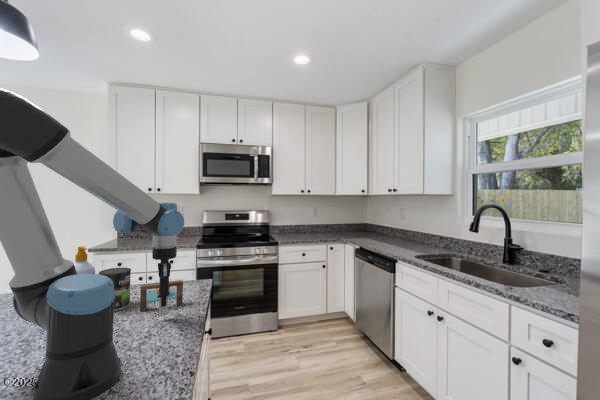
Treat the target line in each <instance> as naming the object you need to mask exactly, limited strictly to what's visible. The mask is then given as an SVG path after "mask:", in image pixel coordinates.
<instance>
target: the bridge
mask: <svg viewBox="0 0 600 400" xmlns="http://www.w3.org/2000/svg"><path fill="white" fill-rule="evenodd" d="M169 287H170V288H171V287H176V298H175V299H176V300H175V301H176V302H175V304H176V306H177V307H179V306H183V299H184V298H183V296H184V293H183V292H184V281H183V279H180V280H169ZM156 288H160V282H153V283H146V284H145V283H144V284H140V295H139V296H140V297H139V298H140V299H139V301H140V302H139V312H140V313H141V311H142V312H147V302H146V301H147V293H148V290H152V289H155V290H156Z"/></svg>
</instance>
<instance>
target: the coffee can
mask: <svg viewBox="0 0 600 400" xmlns="http://www.w3.org/2000/svg"><path fill="white" fill-rule="evenodd" d="M131 271H132V268H129V267H113V268H106V269H103V270H100V271H99V272H98V274H99V275H104V276H107V277H109V278H110V279H111V280H112V281H113V284H114V291H115V298H114V312H117V311H122V310H124V309H126V308H129V306H130V305H131Z"/></svg>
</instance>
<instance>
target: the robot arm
mask: <svg viewBox="0 0 600 400" xmlns="http://www.w3.org/2000/svg"><path fill="white" fill-rule="evenodd" d="M28 163H30V164H42V166H45V167H46V168H48V169H50V170H51V171H53V172H55V173H56V174H58V175H59V176H61V177H63V178H64V179H66V180H68V181H69V182H71V183H73V184H74V185H75V186H78V187H79V188H81V189H82V190H84V191H85V192H87V193H89V194H90V195H92V196H94V197H95V198H97V199H98V200H101V201H102V202H104V203H105V204H107V205H108V206H110V207H111V208H113V209H115V210H116V211H115V212H114V215H113V219H112V225H113V228H114V230H115V232H116V233H118V234H128V235H129V234H133V233H136V234H137V233H138V234H145V235H146V234H148V235H152V242H151V243H152V245H151V246H152V247H153V248H152V252H151V254H152V255H151V256H152V257H151V258H152V259H153V260H156V261H158V260H160V262H157V270H158V278H159V283H160V289H159V291H160V293H159V294H160V295H157V298H159V301H158V317H162V316H168V315H169V299H168V295H169V294H170V292H168V291H169V281H170V276H171V268H172V263H171V262H170V261H169V260H172V259H175V258H177V255H178V254H177V252H178V250H177V249H178V248H177V247H176V246H177V241H178V240H179V239H180V238H179V236H177V235H178V234H180V233H181V232H182V230H183V229H184V227H185V226H184V225H185V217H184V215H183V213H182V212H180V211H179V210H178V205H177V203H176V202H158V201H157V200H156V199H154V198H152V196H150V195H149V194H148V193H147V192H145V191H144V190H143V189H141V188H139V187H138V186H137V185H135V184H134V183H133V182H131V181H130V180H129V179H127V178H126V177H125V176H124V175H122V174H121V173H119V172H118V171H117V170H115V169H114V168H112V167H111V166H110V165H109V164H107V163H106V162H105V161H103V160H101V158H99V157H98V156H97V155H95V154H94V153H92V152H91V151H89V149H87V148H86V147H84V146H83V145H82V144H80V143H79V142H78V141H76V140H75V139H74V138H72V137H71V131H70V129H69V128H67V127H66V126H65V125H64V124H63V123H61V122H59V121H58V120H57V119H55V117H53V116H52V115H50V114H49V113H48V112H46V111H45V110H43V109H42V108H40V107H39V106H37V105H36V104H34V103H32V102H31V101H29V100H28V99H27V98H25V97H23V96H21V95H19V94H17V93H15V92H13V91H10V90H8V89H4V88H1V87H0V243H1V246H2V248H3V250H4V252H5V255H6V257H7V259H8V261H9V264H10V265H11V268H12V270H13V272H14V275H13V276H12V278H11V280H10V281H9V283H8V285H9V286H8V287H10V289H11V293H12V294H13V295H12V296H13V297H12V308H13V309H14V311H15V313H16V314H17V315H18V316H19V317H20V319H22V320H24V321H25V322H28V323H31V324H34V325H35V326H37V327H39V328H41V329H42V330H46V331H45V333H46V337H45V338H46V342H45V346H46V347H45V348H46V349H45V350H46V352H45V360H44V363H43V364H42V367H41V370H40V372H39V375H38V378H37V380H36V382H35V384H34V386H33V390H32V391H33V394H32V400H91V399H93V398H95V397H96V396H99V395H100V394H103V392H105V391H107V390H108V389H110V388H111V387H112V386H113V385H114V384H115V383H116V382H117V381H118V379H120V376H121V372H122V360H121V358H120V357H119V354H118V352H117V349H116V346H115V343H114V317H115V316H114V315H115V314H114V313H115V311H114V298H115V291H114V284H113V281H112V280H111V279H110V278H109V277H107V276H104V275H99V273H95V274H94V275H92V274H77V271H76V268H75V266H74V263H75V262H74V261H73V260H69V259H66V258H64V257H63V254H62V252H61V250H60V246H59V244H58V241H57V238H56V236H55V233H54V231H53V229H52V226H51V224H50V222H49V219H48V216H47V214H46V211H45V209H44V205H43V202H42V201H41V198H40V195H39V193H38V190H37V188H36V184H35V182H34V180H33V177H32V174H31V172H30V170H29V169H30V168H29V167H28Z"/></svg>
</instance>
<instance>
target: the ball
mask: <svg viewBox="0 0 600 400" xmlns="http://www.w3.org/2000/svg"><path fill="white" fill-rule="evenodd" d="M159 289H160V288H155V292H157V294H158V295H160V294H159V293H160V291H159ZM170 290H171V287H169V291H168V292H170Z"/></svg>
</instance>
